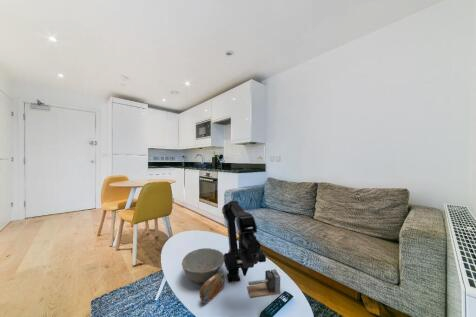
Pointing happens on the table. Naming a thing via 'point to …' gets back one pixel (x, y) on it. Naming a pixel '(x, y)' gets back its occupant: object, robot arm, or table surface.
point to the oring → (270, 281)
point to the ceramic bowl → (202, 264)
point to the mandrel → (264, 286)
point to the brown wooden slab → (212, 287)
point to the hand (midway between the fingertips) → (244, 275)
